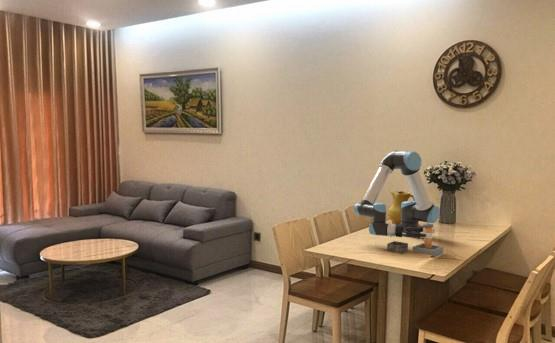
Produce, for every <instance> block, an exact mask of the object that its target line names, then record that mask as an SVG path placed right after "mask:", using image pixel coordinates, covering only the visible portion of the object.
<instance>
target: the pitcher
mask: <svg viewBox="0 0 555 343" xmlns="http://www.w3.org/2000/svg"><path fill="white" fill-rule="evenodd" d="M390 194H391V196H392V204H391V206H390V207H389V209H388V212H387V214H388V216H389V220H390V221H391V223H392V224H401V205H402V202H405V201H409V199H410V198H412V201H415V199H414V196H413V194H412V193H411V192H409V191H404V190H401V191H391V192H390Z"/></svg>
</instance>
